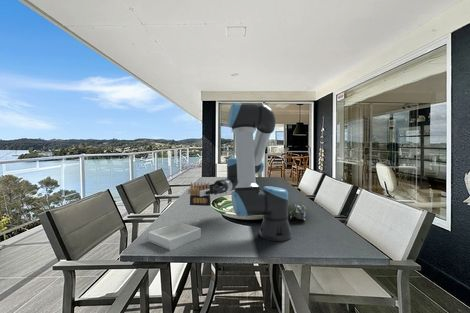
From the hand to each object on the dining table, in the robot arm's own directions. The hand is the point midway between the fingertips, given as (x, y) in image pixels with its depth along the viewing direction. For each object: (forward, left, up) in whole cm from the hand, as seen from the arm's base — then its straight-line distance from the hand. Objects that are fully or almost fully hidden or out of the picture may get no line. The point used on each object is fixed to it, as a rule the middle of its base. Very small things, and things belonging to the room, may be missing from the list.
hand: (193, 192), depth 128 cm
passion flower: (-34, -47, -20) cm, 62 cm away
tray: (-2, +14, -19) cm, 24 cm away
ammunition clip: (0, -5, -8) cm, 9 cm away
